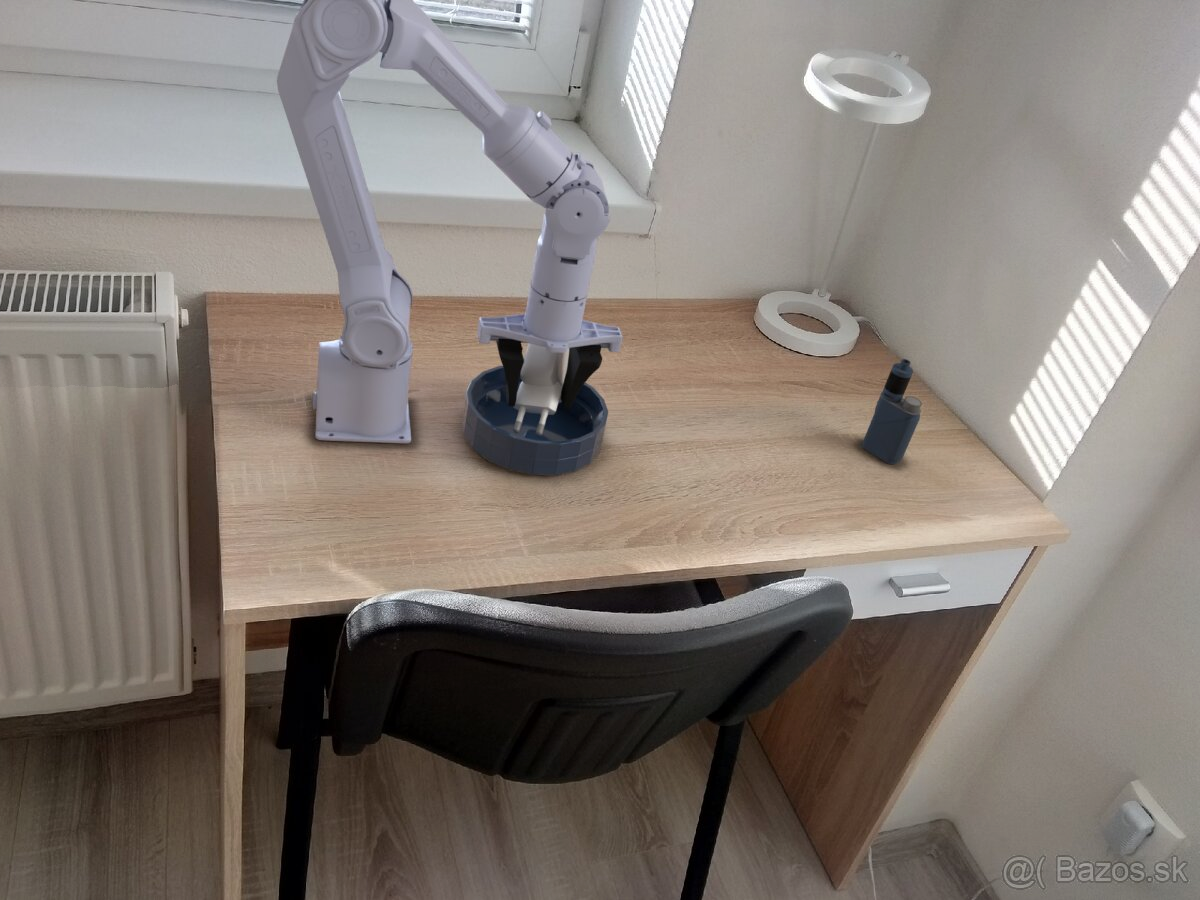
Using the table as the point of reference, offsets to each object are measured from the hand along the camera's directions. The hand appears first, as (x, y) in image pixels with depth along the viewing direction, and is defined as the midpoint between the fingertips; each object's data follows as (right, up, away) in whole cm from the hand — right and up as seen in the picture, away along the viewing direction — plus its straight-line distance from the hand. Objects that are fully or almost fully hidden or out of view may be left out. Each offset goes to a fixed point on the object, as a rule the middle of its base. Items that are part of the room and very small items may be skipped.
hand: (537, 402), depth 110 cm
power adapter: (+1, 0, +4) cm, 4 cm away
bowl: (-1, -4, +2) cm, 4 cm away
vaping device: (+40, -6, +13) cm, 42 cm away
